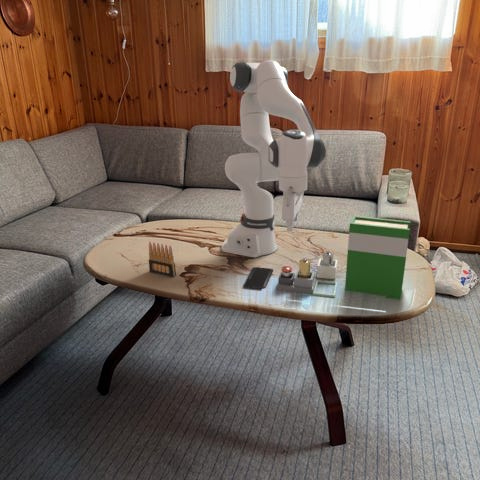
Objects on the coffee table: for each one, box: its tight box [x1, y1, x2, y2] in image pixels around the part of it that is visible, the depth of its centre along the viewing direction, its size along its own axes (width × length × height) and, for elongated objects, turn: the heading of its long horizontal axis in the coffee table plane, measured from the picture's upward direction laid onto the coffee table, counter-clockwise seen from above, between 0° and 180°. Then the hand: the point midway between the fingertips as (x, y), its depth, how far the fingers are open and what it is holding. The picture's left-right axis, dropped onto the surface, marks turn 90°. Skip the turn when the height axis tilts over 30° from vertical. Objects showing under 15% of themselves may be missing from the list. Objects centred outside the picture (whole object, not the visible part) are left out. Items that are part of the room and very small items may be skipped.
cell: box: [298, 258, 311, 279], centre depth 153 cm, size 4×4×9 cm
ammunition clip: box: [148, 241, 177, 278], centre depth 165 cm, size 11×2×12 cm, turn 63°
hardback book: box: [344, 215, 412, 301], centre depth 148 cm, size 18×7×24 cm, turn 69°
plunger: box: [281, 265, 293, 279], centre depth 155 cm, size 3×3×3 cm
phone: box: [242, 266, 274, 291], centre depth 162 cm, size 8×1×15 cm
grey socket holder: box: [276, 269, 317, 295], centre depth 155 cm, size 12×8×5 cm, turn 74°
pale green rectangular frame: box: [312, 279, 338, 298], centre depth 153 cm, size 7×9×1 cm
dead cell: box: [322, 251, 334, 267], centre depth 161 cm, size 4×4×9 cm
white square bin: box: [316, 257, 338, 280], centre depth 162 cm, size 6×6×5 cm
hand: (292, 225), depth 149 cm, fingers open, 8 cm apart
